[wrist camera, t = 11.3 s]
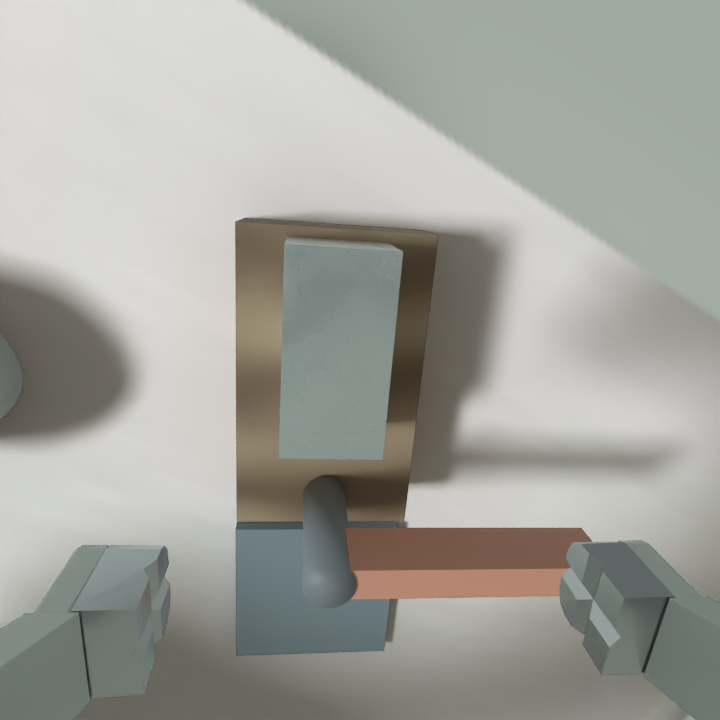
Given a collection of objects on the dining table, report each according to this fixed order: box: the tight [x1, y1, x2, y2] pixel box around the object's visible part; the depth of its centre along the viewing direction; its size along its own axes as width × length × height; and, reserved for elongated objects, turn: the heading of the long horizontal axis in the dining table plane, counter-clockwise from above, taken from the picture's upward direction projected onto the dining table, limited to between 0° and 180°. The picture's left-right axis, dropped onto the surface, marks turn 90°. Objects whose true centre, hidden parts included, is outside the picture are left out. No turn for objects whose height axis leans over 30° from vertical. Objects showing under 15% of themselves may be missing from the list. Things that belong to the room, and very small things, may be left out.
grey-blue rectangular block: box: [279, 236, 403, 460], centre depth 24 cm, size 10×5×4 cm, turn 176°
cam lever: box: [302, 477, 592, 609], centre depth 26 cm, size 15×2×7 cm, turn 86°
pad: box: [236, 522, 398, 656], centre depth 36 cm, size 11×11×1 cm
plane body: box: [235, 218, 438, 522], centre depth 29 cm, size 17×10×4 cm, turn 176°
